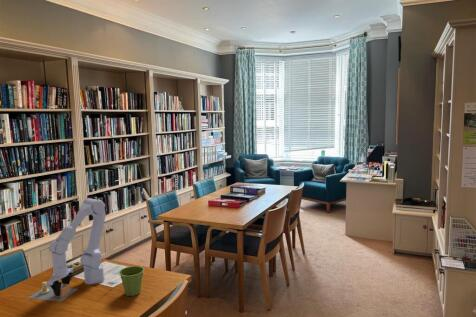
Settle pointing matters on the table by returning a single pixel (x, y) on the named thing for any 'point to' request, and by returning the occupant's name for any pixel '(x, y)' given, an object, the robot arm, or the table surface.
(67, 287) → the collar
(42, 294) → the board
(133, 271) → the plant pot
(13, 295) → the table surface
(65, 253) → the robot arm
